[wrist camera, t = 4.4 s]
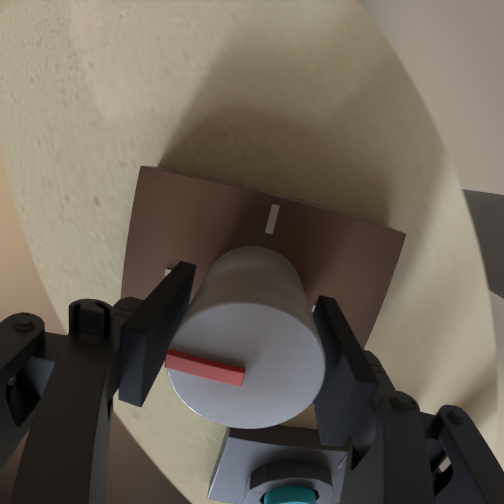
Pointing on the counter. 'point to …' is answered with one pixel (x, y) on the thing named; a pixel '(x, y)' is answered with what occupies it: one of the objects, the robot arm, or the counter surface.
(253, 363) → the dial
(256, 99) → the counter surface
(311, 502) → the teal round puck
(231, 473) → the push button box
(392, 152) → the counter surface
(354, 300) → the dial panel
